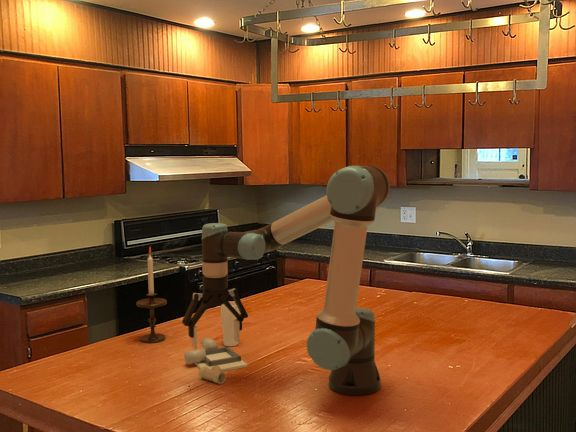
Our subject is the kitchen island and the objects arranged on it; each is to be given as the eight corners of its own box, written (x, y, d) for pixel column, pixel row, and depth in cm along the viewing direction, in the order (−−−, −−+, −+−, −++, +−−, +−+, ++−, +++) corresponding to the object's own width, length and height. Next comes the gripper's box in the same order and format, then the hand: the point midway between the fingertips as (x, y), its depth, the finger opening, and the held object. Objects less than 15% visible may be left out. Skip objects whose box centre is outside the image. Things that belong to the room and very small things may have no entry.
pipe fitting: (214, 375, 188) (198, 379, 183) (215, 362, 188) (199, 367, 183) (233, 380, 183) (217, 385, 178) (233, 368, 183) (217, 372, 178)
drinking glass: (244, 344, 216) (243, 303, 215) (230, 348, 212) (229, 307, 210) (231, 340, 221) (230, 300, 220) (217, 344, 216) (216, 303, 215)
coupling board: (247, 366, 193) (247, 352, 193) (196, 376, 185) (196, 361, 185) (222, 347, 213) (222, 334, 212) (175, 355, 205) (175, 341, 204)
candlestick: (145, 334, 230) (142, 243, 226) (172, 335, 228) (169, 244, 224) (132, 343, 219) (129, 248, 216) (160, 344, 217) (157, 248, 214)
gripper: (248, 269, 189) (248, 335, 191) (170, 276, 178) (172, 346, 180) (258, 273, 183) (258, 341, 185) (178, 281, 171) (179, 354, 173)
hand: (215, 344), depth 182 cm, fingers open, 13 cm apart
